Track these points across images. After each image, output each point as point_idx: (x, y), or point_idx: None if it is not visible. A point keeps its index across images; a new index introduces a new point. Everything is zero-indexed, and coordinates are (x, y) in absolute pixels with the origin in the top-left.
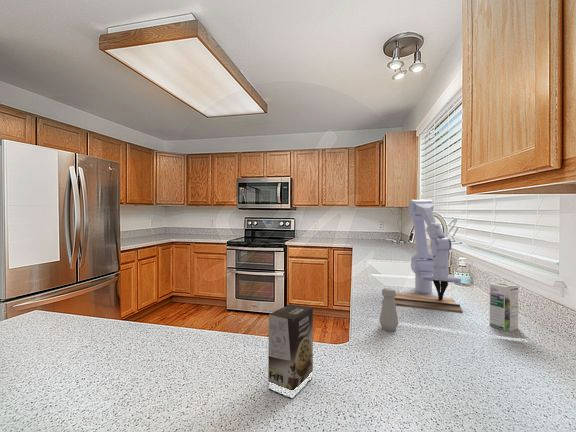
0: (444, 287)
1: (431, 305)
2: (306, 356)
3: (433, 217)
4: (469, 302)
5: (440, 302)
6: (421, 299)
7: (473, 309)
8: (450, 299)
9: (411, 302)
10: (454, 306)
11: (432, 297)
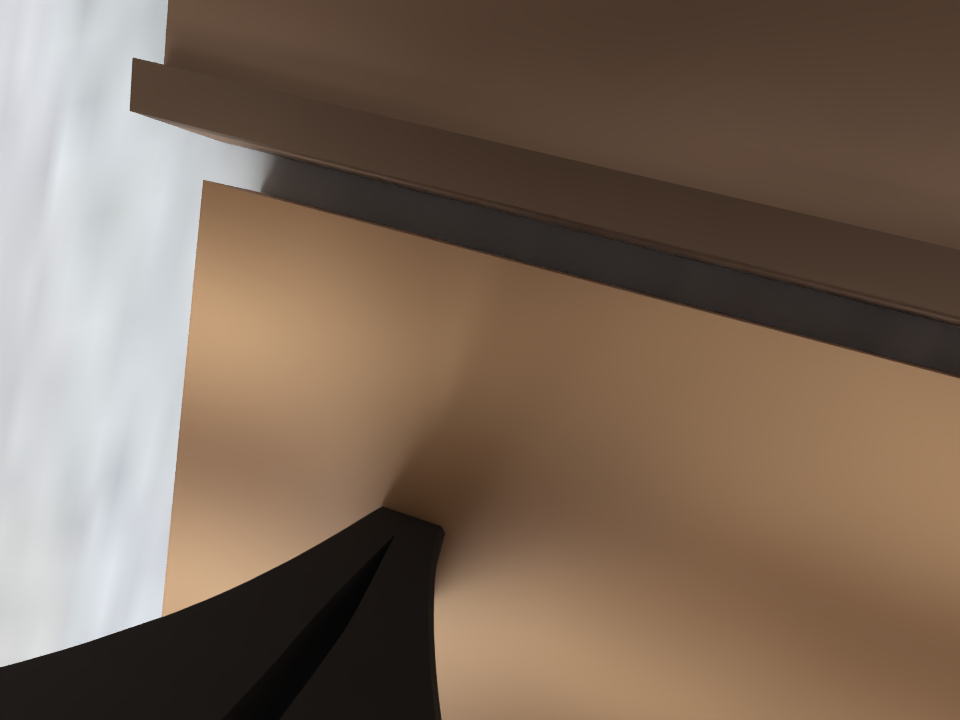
0: (53, 706)
1: (836, 4)
2: None
3: None
4: (15, 561)
5: (521, 199)
6: (869, 528)
7: (22, 219)
8: (223, 550)
9: None
10: (273, 50)
11: (522, 673)
